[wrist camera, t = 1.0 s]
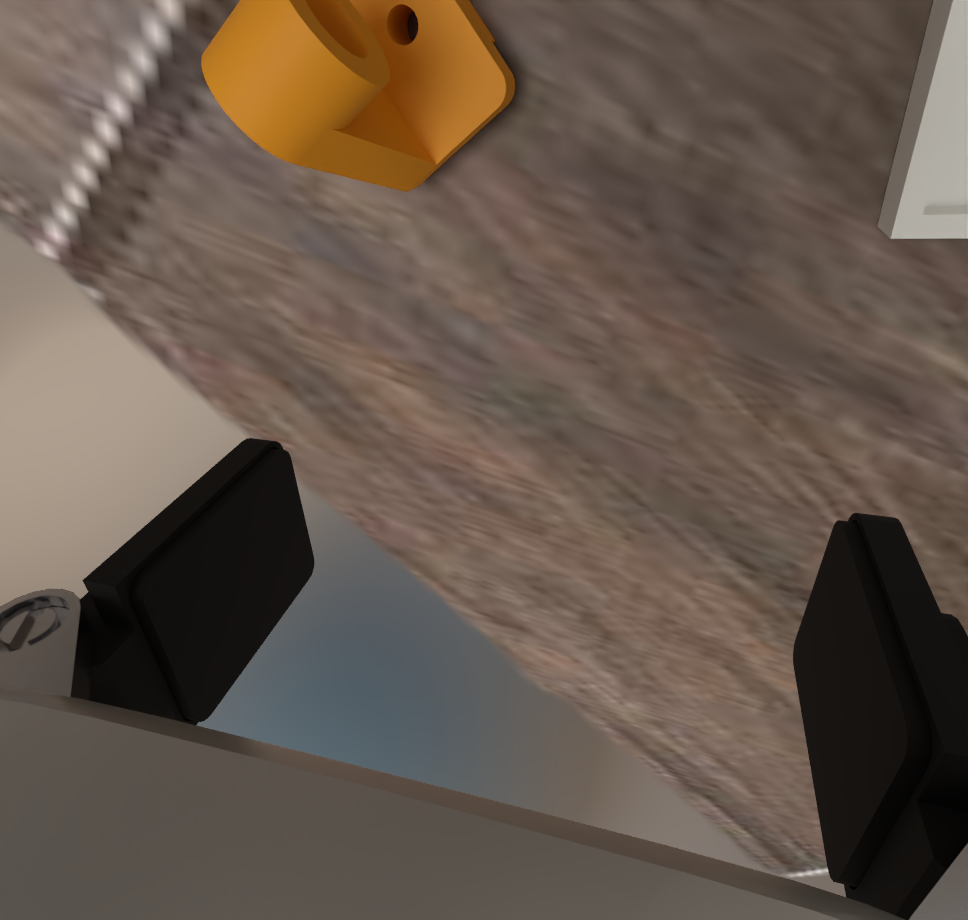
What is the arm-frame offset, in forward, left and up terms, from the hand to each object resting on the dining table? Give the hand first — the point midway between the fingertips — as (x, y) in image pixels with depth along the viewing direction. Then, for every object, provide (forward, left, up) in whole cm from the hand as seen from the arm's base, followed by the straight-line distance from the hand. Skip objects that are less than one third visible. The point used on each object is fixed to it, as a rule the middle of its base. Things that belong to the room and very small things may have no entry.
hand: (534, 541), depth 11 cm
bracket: (-8, -12, -27) cm, 31 cm away
